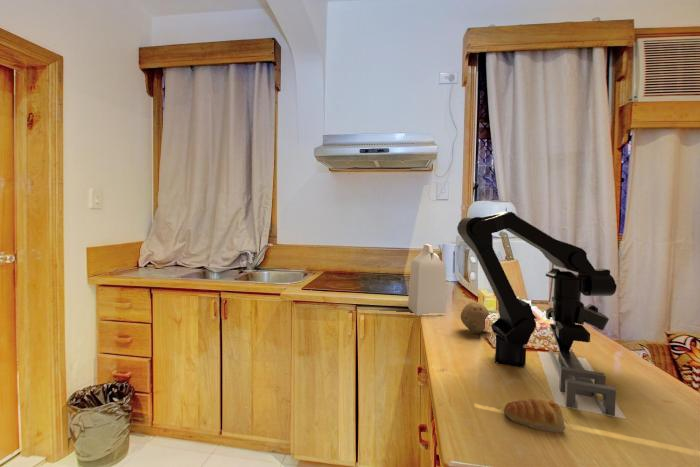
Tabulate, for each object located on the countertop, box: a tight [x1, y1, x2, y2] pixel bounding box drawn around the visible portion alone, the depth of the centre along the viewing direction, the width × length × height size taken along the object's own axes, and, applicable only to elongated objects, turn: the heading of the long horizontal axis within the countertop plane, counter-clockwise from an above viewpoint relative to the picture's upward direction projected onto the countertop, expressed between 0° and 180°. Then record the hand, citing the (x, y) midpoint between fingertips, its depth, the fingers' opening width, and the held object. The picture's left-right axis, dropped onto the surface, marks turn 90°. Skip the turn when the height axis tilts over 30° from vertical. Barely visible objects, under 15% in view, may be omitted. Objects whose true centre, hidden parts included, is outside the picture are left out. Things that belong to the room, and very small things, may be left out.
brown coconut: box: [460, 301, 491, 334], centre depth 107 cm, size 9×9×10 cm
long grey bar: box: [558, 349, 593, 397], centre depth 77 cm, size 3×17×3 cm, turn 158°
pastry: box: [503, 397, 566, 434], centre depth 61 cm, size 9×7×4 cm
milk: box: [407, 243, 448, 317], centre depth 131 cm, size 12×12×26 cm
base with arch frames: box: [536, 349, 627, 420], centre depth 76 cm, size 11×28×5 cm, turn 157°
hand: (564, 356), depth 86 cm, fingers closed
